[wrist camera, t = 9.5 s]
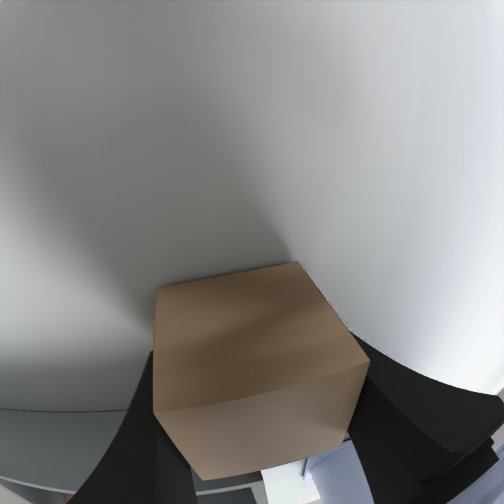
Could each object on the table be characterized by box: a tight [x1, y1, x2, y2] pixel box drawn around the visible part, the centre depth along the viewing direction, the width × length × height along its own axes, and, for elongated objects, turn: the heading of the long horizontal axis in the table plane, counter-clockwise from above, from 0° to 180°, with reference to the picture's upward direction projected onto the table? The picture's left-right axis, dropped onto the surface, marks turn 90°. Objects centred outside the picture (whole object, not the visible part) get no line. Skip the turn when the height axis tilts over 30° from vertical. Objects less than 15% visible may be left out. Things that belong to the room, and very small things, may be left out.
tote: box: [0, 409, 268, 504], centre depth 13 cm, size 17×13×5 cm
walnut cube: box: [153, 261, 370, 481], centre depth 9 cm, size 5×5×5 cm
